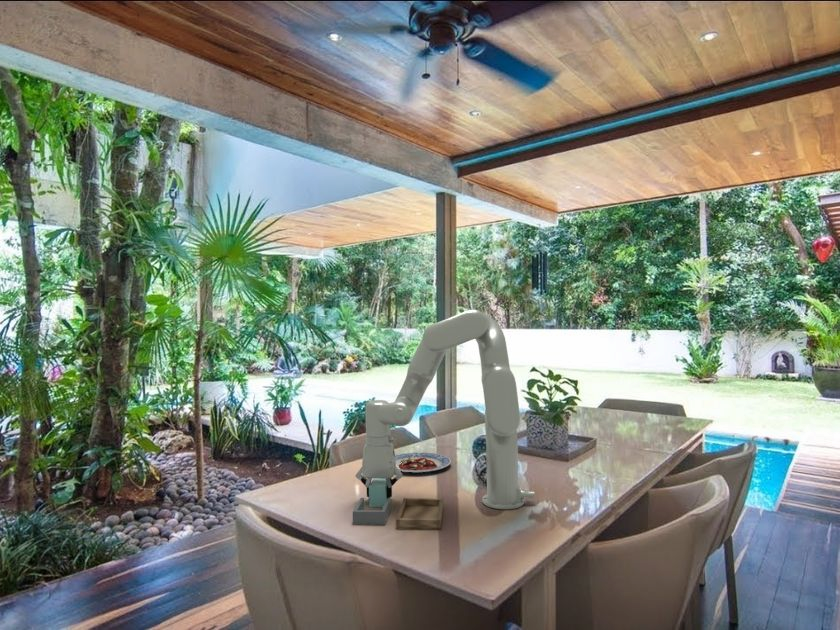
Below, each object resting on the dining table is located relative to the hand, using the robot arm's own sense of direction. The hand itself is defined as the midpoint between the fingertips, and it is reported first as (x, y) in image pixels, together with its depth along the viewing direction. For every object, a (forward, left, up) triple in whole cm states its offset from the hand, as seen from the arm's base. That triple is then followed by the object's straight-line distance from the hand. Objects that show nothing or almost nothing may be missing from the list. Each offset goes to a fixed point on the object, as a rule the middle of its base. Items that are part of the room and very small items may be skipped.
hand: (379, 498), depth 159 cm
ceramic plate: (-8, -38, -2) cm, 39 cm away
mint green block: (0, -2, -1) cm, 2 cm away
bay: (0, +12, -1) cm, 12 cm away
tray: (-14, +12, -1) cm, 18 cm away
